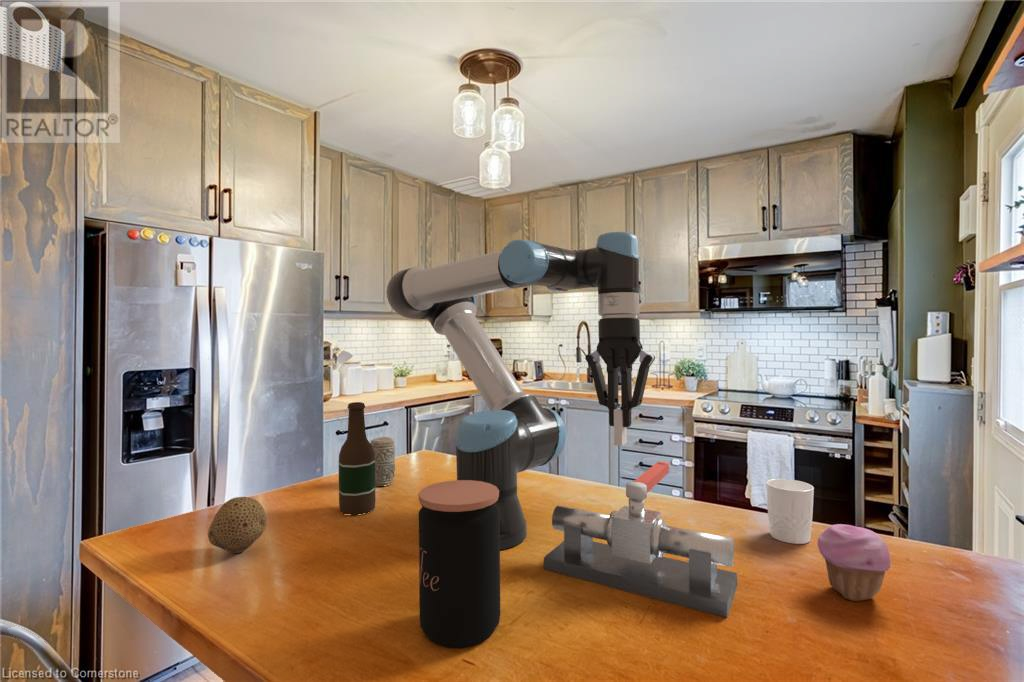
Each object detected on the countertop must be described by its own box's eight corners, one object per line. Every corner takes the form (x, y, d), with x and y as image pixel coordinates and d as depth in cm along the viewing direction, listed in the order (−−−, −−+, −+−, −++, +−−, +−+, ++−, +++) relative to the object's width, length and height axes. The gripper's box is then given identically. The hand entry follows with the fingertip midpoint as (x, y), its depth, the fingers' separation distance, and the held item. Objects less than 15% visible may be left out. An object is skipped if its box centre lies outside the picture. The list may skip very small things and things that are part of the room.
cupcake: (806, 579, 78) (806, 515, 78) (863, 579, 78) (863, 515, 78) (842, 610, 69) (842, 538, 69) (906, 611, 69) (906, 539, 69)
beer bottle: (382, 508, 112) (381, 401, 112) (355, 519, 106) (353, 406, 106) (359, 502, 117) (358, 399, 116) (331, 512, 110) (330, 403, 110)
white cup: (821, 547, 90) (820, 492, 90) (773, 544, 91) (773, 489, 91) (804, 530, 97) (804, 479, 97) (761, 527, 99) (760, 477, 99)
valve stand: (544, 569, 82) (543, 493, 82) (569, 547, 91) (569, 478, 91) (727, 617, 68) (726, 525, 68) (737, 586, 76) (736, 504, 76)
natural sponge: (275, 552, 90) (275, 497, 90) (220, 569, 83) (219, 510, 83) (256, 538, 96) (255, 487, 96) (203, 553, 89) (203, 498, 89)
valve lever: (643, 500, 77) (643, 489, 77) (623, 497, 79) (623, 486, 79) (673, 472, 93) (673, 462, 93) (655, 469, 94) (655, 460, 94)
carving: (382, 489, 126) (382, 442, 126) (362, 485, 130) (362, 439, 130) (401, 483, 131) (400, 438, 131) (381, 479, 136) (380, 435, 136)
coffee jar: (423, 607, 71) (422, 481, 71) (498, 602, 72) (497, 478, 72) (415, 654, 60) (413, 506, 60) (503, 649, 61) (501, 503, 61)
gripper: (578, 317, 93) (579, 444, 93) (647, 315, 86) (649, 451, 86) (593, 319, 99) (595, 437, 99) (659, 316, 92) (661, 443, 93)
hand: (620, 444), depth 93 cm, fingers closed
